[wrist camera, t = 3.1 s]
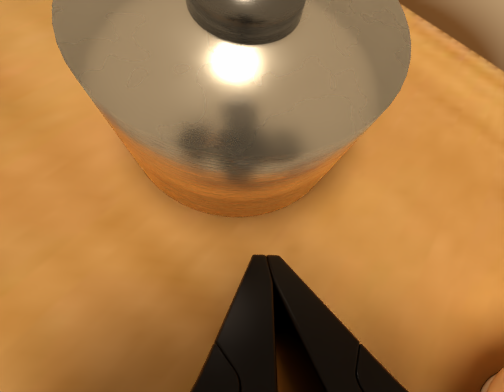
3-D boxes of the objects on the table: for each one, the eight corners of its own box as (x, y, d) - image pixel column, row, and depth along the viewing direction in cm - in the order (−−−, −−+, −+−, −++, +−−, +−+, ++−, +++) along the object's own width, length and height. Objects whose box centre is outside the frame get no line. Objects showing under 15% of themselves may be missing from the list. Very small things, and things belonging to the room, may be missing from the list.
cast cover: (370, 120, 19) (488, -11, 11) (243, 268, 14) (273, 247, 6) (231, 18, 21) (236, -159, 13) (81, 116, 17) (-71, -61, 8)
